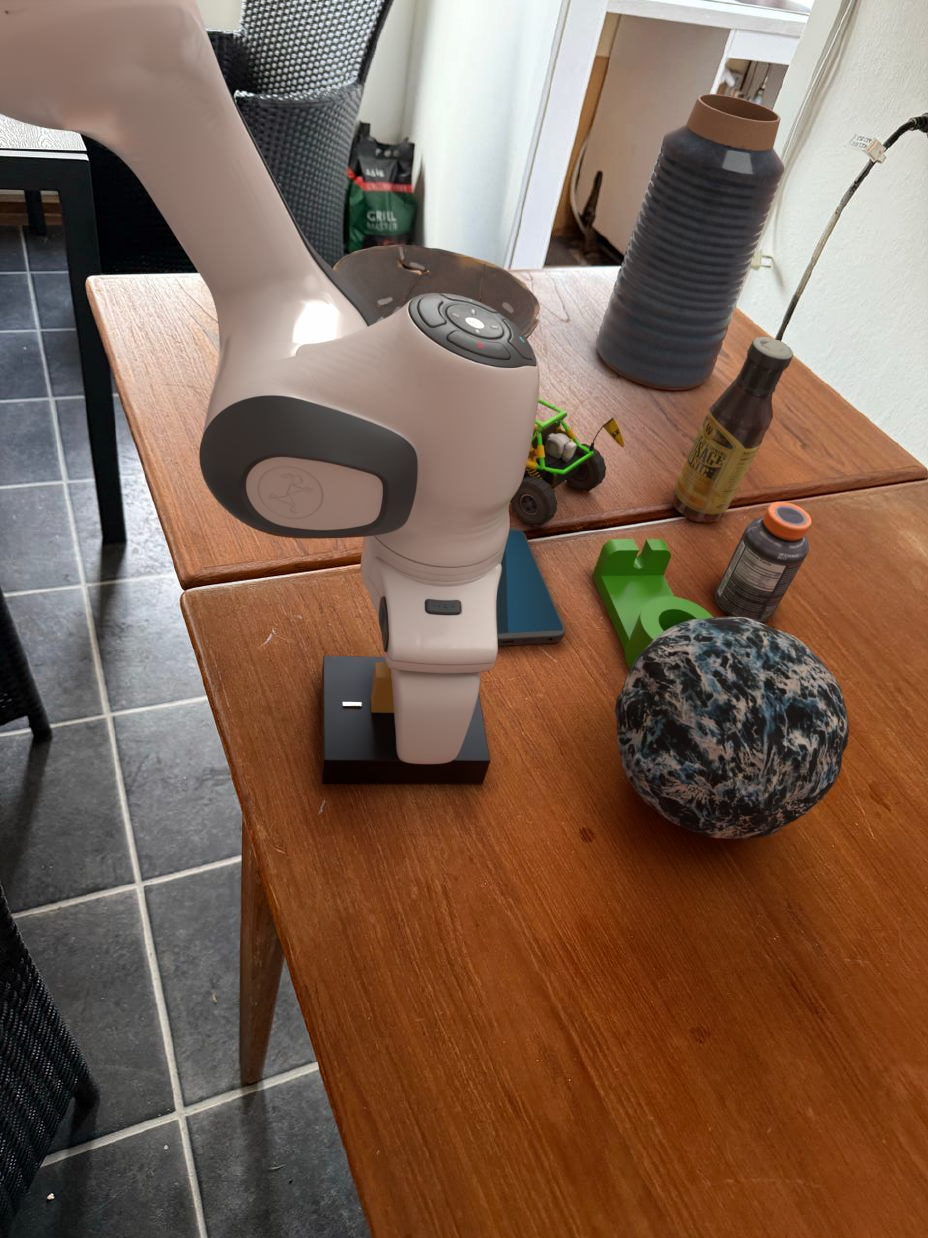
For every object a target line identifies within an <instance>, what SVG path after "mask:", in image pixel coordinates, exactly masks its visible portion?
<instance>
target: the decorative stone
mask: <svg viewBox="0 0 928 1238" xmlns="http://www.w3.org/2000/svg"><path fill="white" fill-rule="evenodd" d="M712 617H713V618H704V619H693V620H689V621H686V622H683V623H680V624H678V625H675V626H673V627H671V628H669V629H667V630H666V631H664V632H663V633H661V634H660V635H659V636H657V637H656V638H655V639H654V640H653V641H652V642H651V643H650V644H649V646H648V647H647V648H646V649H645V650H644V651H643V652H642V653H641V654H640V655H639V656H638V658H637V659H636V661H635V662H634V664H633V666H632V668H631V669H630V670H629V672H628V674H627V675H626V677H625V680H624V683H623V686H622V688H621V690H620V692H619V694H618V695H617V697H616V701H615V708H614V712H615V719H616V738H617V739H616V741H617V748H618V752H619V758H620V763H621V767H622V769H623V771H624V773H625V775H626V777H627V779H628V781H629V783H630V784H631V785H632V787H633V788H634V790H635V791H636V792H637V794H638V795H639V797H640V798H641V799H642V800H643V801H644V802H645V803H646V805H648V806H649V807H650V808H651V809H653V810H654V811H655V812H656V813H658V814H659V815H660V816H661V817H663V818H664V819H666V820H667V821H670V822H671V823H673V824H675V825H677V826H679V827H681V828H684V829H687V830H689V831H691V832H694V833H696V834H699V835H702V836H705V837H708V838H714V839H721V840H723V839H724V840H751V839H757V838H762V837H767V836H770V835H773V834H775V833H777V832H779V831H781V830H782V829H783V828H786V827H787V826H789V825H790V824H791V823H793V822H795V821H797V820H798V819H800V818H801V817H803V816H804V815H807V814H808V813H809V811H811V810H812V809H813V808H814V807H815V806H816V805H817V804H818V803H820V802H821V801H822V799H824V798H825V796H826V795H827V794H828V792H829V791H830V790H831V789H832V788H833V787H834V785H835V784H836V781H837V779H838V777H839V775H840V772H841V769H842V764H843V754H844V752H845V750H846V749H847V746H848V743H849V738H850V737H849V736H850V725H849V715H848V710H847V706H846V703H845V700H844V695H843V691H842V687H841V685H840V683H839V681H838V680H837V679H836V676H835V675H834V674H833V673H832V672H831V671H830V670H829V668H828V667H827V666H826V665H825V664H824V662H823V661H822V660H821V659H820V658H819V657H818V656H817V655H816V654H815V653H814V652H813V651H812V650H811V649H810V648H809V647H808V646H807V645H806V644H805V643H804V642H803V641H802V640H801V639H799V638H797V637H796V636H795V635H793V634H790V633H788V632H785V631H783V630H779V629H777V628H773V627H772V626H769V625H766V624H764V623H760V622H757V621H755V620H753V619H749V618H744V617H733V616H730V615H728V616H712Z"/></svg>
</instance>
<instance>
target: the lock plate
mask: <svg viewBox="0 0 928 1238" xmlns="http://www.w3.org/2000/svg"><path fill="white" fill-rule="evenodd" d="M376 662H383V663H386V656H359V655H357V656H355V655H323V656H322V667H321V668H322V669H321V681H320V683H321V684H320V685H321V686H320V687H321V690H320V691H321V692H320V693H321V694H320V695H321V697H320V699H321V701H320V702H321V711H320V712H321V715H320V716H321V718H320V719H321V720H320V721H321V722H320V723H321V729H320V730H321V785H483V784H484V782H485V779H486V776H487V772H488V770H489V766H490V763H491V758H490V757H491V756H490V751H489V745H488V744H489V743H488V739H487V731H486V726H485V721H484V715H483V709H482V708H483V707H482V703H481V695H480V692H479V693H478V697H477V702H476V705H475V709H474V712H473V715H472V718H471V721H470V724H469V727H468V730H467V733H466V736H465V738H464V741H463V744H462V746H461V749H460V751H459V753H458V755H457V757H456V758H455V759H454V760H452V761H450V762H447V763H441V764H414V763H407V762H404V761H402V760H400V759H399V757H398V755H397V750H396V729H395V716H394V713H372V712H371V692H372V685H373V677H374V670H375V663H376Z"/></svg>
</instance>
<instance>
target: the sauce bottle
mask: <svg viewBox="0 0 928 1238" xmlns="http://www.w3.org/2000/svg"><path fill="white" fill-rule="evenodd" d="M746 353H747V354H746V358H745V360H744V362H743V365H742V366H741V369H740V371H739V373H738V375H737V376H736V378H734V380H733V381H732V383H730V384H729V386H728V387H727V388H726V389H725V390H724V391H723V393H721V395H720V396H719V397H718V398H717V399H716V401H715V402H713V404H712V405H711V406H710V407H709V409H708V411H707V413H706V415H705V417H704V419H703V421H702V423H701V426H700V428H699V430H698V433H697V435H696V437H695V438H694V441H693V444H692V445H691V448H690V450H689V453H688V455H687V457H686V459H685V462H684V464H683V466H682V468H681V470H680V473H679V474H678V477H677V479H676V481H675V484H674V488H673V491H672V494H671V503H672V506H673V507H674V509H675V510H676V511H677V512H678V513H679V514H680V515H682V516H684V517H685V518H686V519H688V520H689V521H692V522H698V523H704V524H708V523H714V522H717V521H719V520H720V519H721V518H723V516H724V515H725V513H726V511H727V510H728V509H729V507H730V505H731V503H732V501H733V499H734V498H735V496H736V494H737V492H738V490H739V488H740V486H741V483H742V482H743V480H744V478H745V476H746V474H747V472H748V470H749V468H750V466H751V464H752V462H753V460H754V458H755V456H756V455H757V453H758V451H759V449H760V447H761V446H762V443H763V439H764V437H765V435H766V433H767V431H768V429H769V428H770V425H771V423H772V420H773V419H774V409H773V394H774V393H775V392H776V387H777V386H778V383H779V381H780V379H781V377H782V375H783V373H784V371H786V369H788V367H789V366H790V364H791V362H792V359H793V357H794V352H793V350H792V348H791V347H790V346H789V345H787V343H785V342H783V341H781V340H779V339H777V338H773V337H769V336H758V337H755V338H754V339H753V340H752V342H751V344H750V345H749V348H748V349H747V352H746Z"/></svg>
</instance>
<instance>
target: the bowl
mask: <svg viewBox="0 0 928 1238" xmlns="http://www.w3.org/2000/svg"><path fill="white" fill-rule="evenodd" d="M403 265H404V266H405V267H408V268H410V269H412V270H409V269H407V268H405V267H404V266H403ZM332 269H334V270H335V271H336V272H337V273H338V274H339V275H340V276H341V277H342V278H343V279H344V280H346V281H347V282H348V283H349V284H350V285H351V286H352V287H353V288H354V289H355V290H356V291H357V292H358V294H359V295H360V296H361V297H362V298H363V299H364V301H365V302H366V304H367V305H368V306H369V308H370V309H371V311H372V313H373V315H374V317H375V319H376V321H377V322H379V321H381V320H383V319H385V318H387V317H389V316H390V315H392V314H394V313H395V312H397V311H398V310H399V309H401V308H402V307H403V306H404V305H405V304H406V303H408V302H409V301H410V300H411V299H412V298H414V297H416V296H419V295H422V294H428V293H445V294H454V295H459V296H463V297H466V298H469V299H472V300H475V301H478V302H480V303H482V304H485V305H487V306H489V307H491V308H493V309H494V310H496V311H498V313H499V314H501V315H502V316H504V317H505V318H507V319H508V320H509V321H511V322H513V323H514V324H515V325H516V326H517V327H518V328H519V329H520V331H521V332H522V333H523V335H524V336H525V337H526V339H527V340H528V338H529V337H530V336H531V335H532V334H533V332H534V331H535V330H536V329H537V327H538V325H539V324H540V321H541V320H540V319H539V318H538V315H539V313H540V310H541V304H540V301H539V300H538V298H537V296H536V295H535V294H534V293H533V291H531V290H530V288H529V287H528V285H527V284H526V283H525V282H524V281H522V280H521V279H519V278H518V277H516V276H515V275H513V273H511V272H509V271H508V270H506V268H505V269H504V268H503V267H501V266H499V265H497V264H494V263H492V262H489V261H487V260H483V259H479V258H476V257H474V256H470V255H466V254H462V253H459V252H455V251H451V250H447V249H442V248H438V247H427V246H420V245H412V244H411V245H410V244H406V245H405V244H390V245H389V244H388V245H387V244H386V245H378V246H376V245H375V246H372V247H371V246H370V247H368V248H364V249H359V250H355V251H353V252H351V253H349V254H347V255H345V256H343V257H341V258H340V259H339V260H338V261H337V262H336V263H335V265H334V266H333V267H332ZM413 270H416V271H419V272H420V273H418V272H415V271H413Z"/></svg>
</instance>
